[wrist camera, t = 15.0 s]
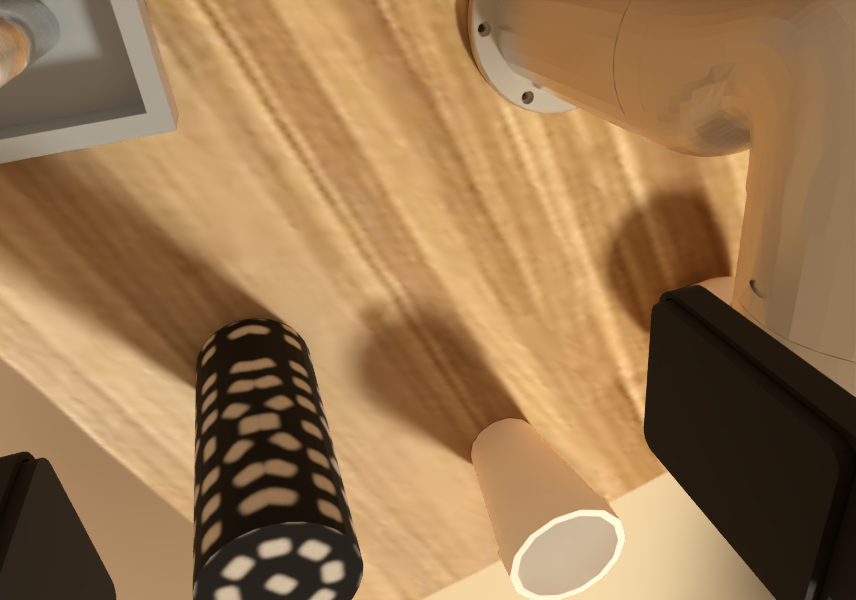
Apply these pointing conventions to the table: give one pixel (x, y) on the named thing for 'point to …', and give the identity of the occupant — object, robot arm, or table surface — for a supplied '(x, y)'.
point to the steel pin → (25, 35)
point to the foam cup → (543, 513)
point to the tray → (88, 84)
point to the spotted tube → (267, 474)
